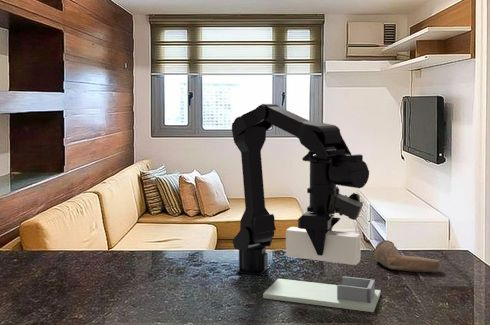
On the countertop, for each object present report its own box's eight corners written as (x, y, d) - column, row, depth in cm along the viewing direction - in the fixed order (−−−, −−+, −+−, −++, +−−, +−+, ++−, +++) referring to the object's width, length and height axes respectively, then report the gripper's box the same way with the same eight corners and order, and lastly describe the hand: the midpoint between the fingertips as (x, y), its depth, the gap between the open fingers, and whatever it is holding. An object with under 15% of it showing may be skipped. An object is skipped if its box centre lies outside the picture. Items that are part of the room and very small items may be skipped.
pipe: (442, 257, 132) (438, 241, 141) (373, 253, 136) (374, 237, 145) (441, 281, 134) (437, 263, 143) (372, 276, 138) (373, 259, 147)
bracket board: (263, 298, 118) (263, 280, 118) (278, 282, 128) (278, 266, 128) (373, 312, 110) (374, 293, 109) (380, 294, 120) (380, 277, 119)
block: (285, 256, 120) (285, 229, 119) (291, 252, 123) (291, 226, 122) (356, 265, 113) (356, 237, 112) (360, 260, 116) (360, 233, 115)
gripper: (352, 191, 105) (351, 268, 106) (366, 178, 122) (365, 245, 124) (297, 188, 109) (297, 263, 110) (318, 176, 126) (318, 241, 128)
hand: (322, 252), depth 118 cm, fingers closed on block, 4 cm apart
